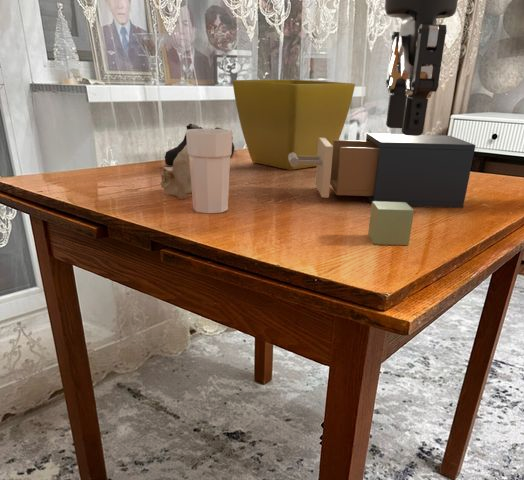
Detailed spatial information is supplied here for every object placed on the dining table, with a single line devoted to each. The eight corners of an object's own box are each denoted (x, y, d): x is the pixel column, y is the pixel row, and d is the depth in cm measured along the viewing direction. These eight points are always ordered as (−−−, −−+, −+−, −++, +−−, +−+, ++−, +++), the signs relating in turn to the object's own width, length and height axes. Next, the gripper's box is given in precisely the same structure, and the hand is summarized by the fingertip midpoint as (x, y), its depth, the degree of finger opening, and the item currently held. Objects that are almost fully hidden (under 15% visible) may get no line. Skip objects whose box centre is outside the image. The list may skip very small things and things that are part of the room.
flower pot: (289, 174, 110) (294, 82, 102) (230, 161, 122) (230, 78, 114) (349, 166, 121) (357, 83, 113) (289, 155, 134) (293, 79, 126)
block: (400, 235, 71) (405, 202, 69) (408, 245, 68) (414, 210, 66) (367, 234, 71) (371, 201, 69) (373, 244, 68) (378, 209, 65)
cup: (234, 205, 84) (234, 129, 79) (230, 215, 79) (230, 134, 73) (192, 203, 85) (189, 127, 79) (185, 213, 79) (181, 132, 74)
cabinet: (373, 205, 87) (380, 142, 83) (360, 189, 98) (366, 133, 94) (463, 208, 87) (475, 144, 83) (440, 191, 98) (450, 135, 94)
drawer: (288, 196, 87) (291, 145, 83) (286, 183, 97) (288, 136, 93) (404, 199, 87) (412, 148, 84) (390, 186, 97) (396, 139, 94)
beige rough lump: (167, 177, 95) (191, 127, 89) (197, 199, 95) (223, 150, 89) (143, 189, 88) (167, 136, 82) (175, 213, 88) (202, 161, 82)
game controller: (231, 186, 110) (248, 139, 109) (207, 173, 105) (225, 123, 104) (183, 174, 121) (199, 131, 119) (160, 162, 115) (176, 116, 114)
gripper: (487, -49, 50) (453, 139, 57) (442, -26, 62) (419, 126, 70) (406, -52, 50) (382, 137, 57) (377, -28, 62) (361, 124, 70)
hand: (402, 131), depth 63 cm, fingers open, 8 cm apart
